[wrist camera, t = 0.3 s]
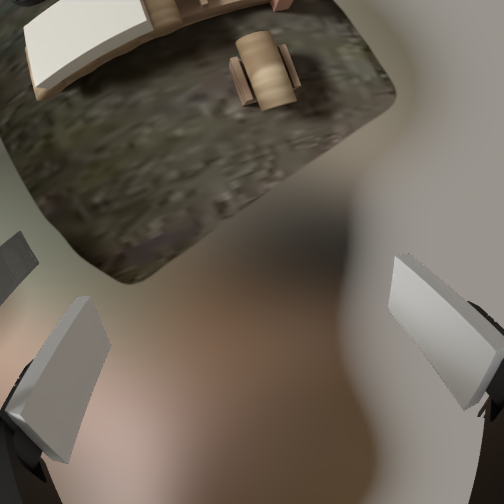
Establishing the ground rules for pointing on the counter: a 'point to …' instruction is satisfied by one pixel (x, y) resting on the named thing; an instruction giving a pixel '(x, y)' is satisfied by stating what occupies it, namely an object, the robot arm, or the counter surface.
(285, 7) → the block
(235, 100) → the counter surface
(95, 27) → the slab
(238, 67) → the pedestal
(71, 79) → the roller bed
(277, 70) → the roller
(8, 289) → the skincare box
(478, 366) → the robot arm
